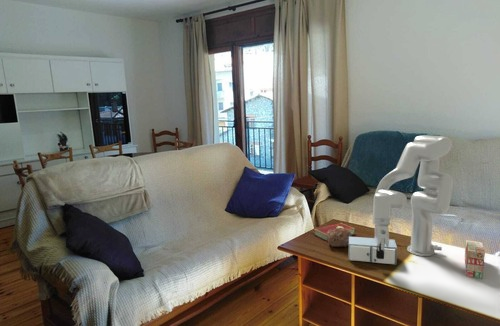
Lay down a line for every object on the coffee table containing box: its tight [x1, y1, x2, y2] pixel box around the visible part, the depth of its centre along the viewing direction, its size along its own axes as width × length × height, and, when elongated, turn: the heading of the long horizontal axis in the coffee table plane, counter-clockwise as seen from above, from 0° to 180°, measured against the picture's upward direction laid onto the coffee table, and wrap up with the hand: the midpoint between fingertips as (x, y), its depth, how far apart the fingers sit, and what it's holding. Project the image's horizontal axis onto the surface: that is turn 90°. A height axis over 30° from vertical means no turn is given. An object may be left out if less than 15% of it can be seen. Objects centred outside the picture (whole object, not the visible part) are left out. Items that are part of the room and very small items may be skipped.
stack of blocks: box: [464, 240, 486, 280], centre depth 160 cm, size 21×6×12 cm, turn 150°
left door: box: [371, 247, 398, 266], centre depth 166 cm, size 11×2×8 cm, turn 75°
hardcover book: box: [313, 222, 356, 242], centre depth 207 cm, size 12×21×4 cm, turn 118°
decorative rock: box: [327, 228, 353, 248], centre depth 190 cm, size 13×11×10 cm
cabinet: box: [348, 236, 398, 265], centre depth 172 cm, size 22×12×8 cm, turn 75°
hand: (379, 258), depth 161 cm, fingers closed
